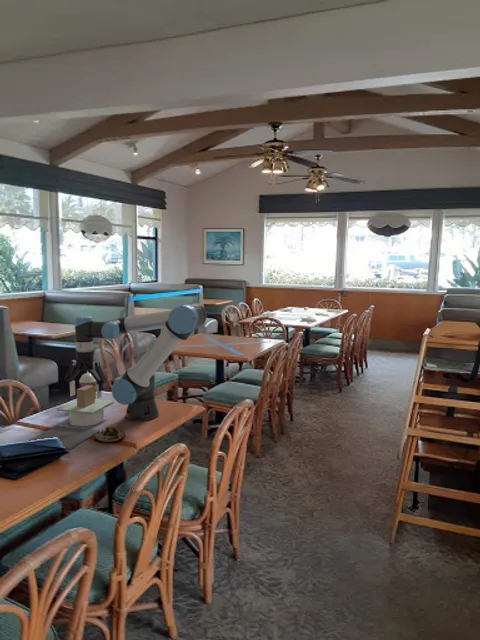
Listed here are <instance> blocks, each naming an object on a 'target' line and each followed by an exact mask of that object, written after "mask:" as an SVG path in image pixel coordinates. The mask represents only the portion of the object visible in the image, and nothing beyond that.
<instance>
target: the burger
mask: <svg viewBox="0 0 480 640" xmlns="http://www.w3.org/2000/svg"><path fill="white" fill-rule="evenodd" d="M94 436H95V437H94V440H98V441H99V442H104V443H105V442H106V443H107V442H108V443H109V442H110V443H111V442H115V441H116V442H117V441H119V440H121V441H122V440H123V441H124V440H125V439H126V434H125V432H123V431H121V430H118V429H117V426H116V425H115V424H113V423H111V424H108V425H107V426H106V427H105V430H104V431H103V430H100V432H99V433H97V434H95V435H94Z"/></svg>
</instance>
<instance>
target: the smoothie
mask: <svg viewBox="0 0 480 640" xmlns="http://www.w3.org/2000/svg"><path fill="white" fill-rule="evenodd" d="M78 383H79V388H81V387H84V386H86V385H91V386H94V387H95V399H97V385H96V384H98V383H97V381H96V380H95V379H94V377H93V376H92V375H91V373H89V372H88V371H87V372H85V373H84V374H81V377H80V378H79V380H78Z"/></svg>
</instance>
